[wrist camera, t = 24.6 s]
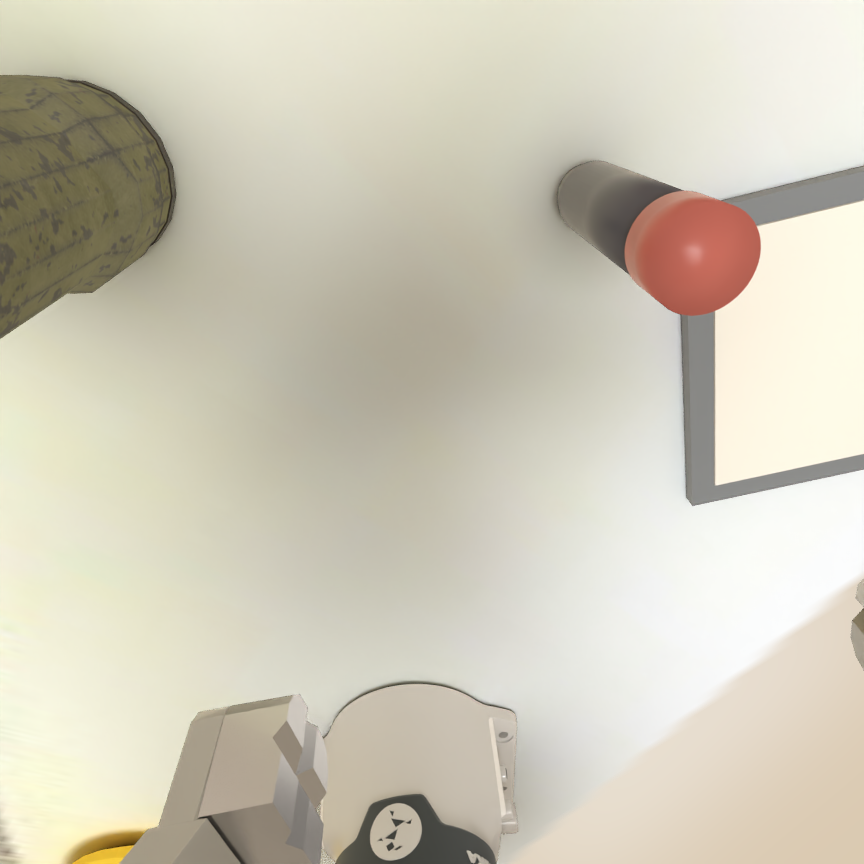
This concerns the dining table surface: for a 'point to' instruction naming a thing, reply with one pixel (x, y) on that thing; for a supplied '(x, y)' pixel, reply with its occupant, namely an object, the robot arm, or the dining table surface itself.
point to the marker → (663, 235)
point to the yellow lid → (105, 856)
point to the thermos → (73, 191)
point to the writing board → (782, 350)
